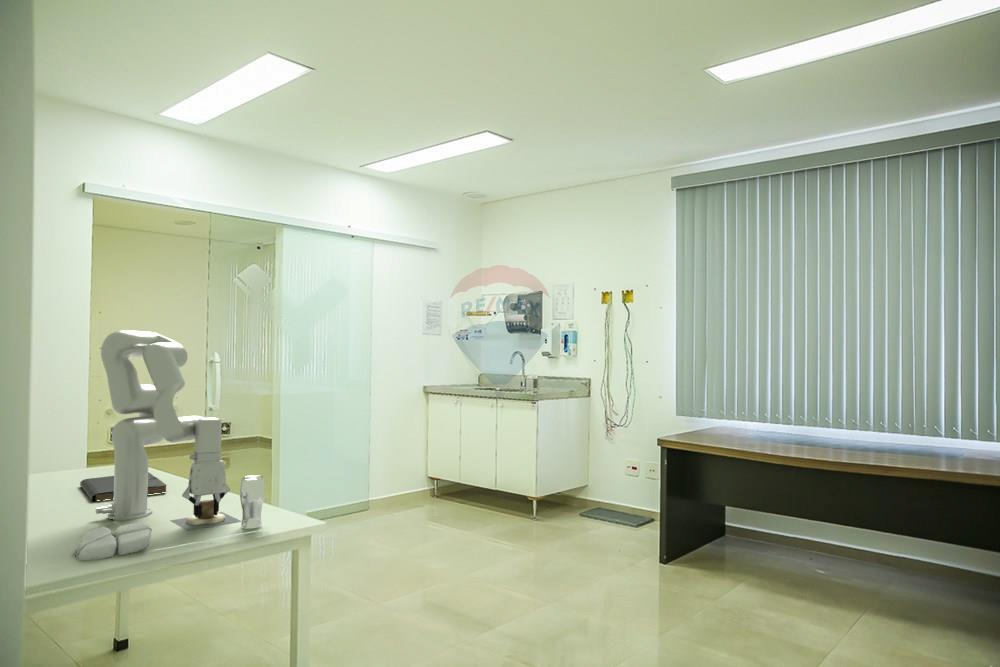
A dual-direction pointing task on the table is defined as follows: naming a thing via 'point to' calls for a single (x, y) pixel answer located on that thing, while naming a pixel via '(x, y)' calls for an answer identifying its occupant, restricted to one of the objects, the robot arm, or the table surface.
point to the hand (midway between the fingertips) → (206, 515)
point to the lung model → (113, 541)
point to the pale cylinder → (251, 501)
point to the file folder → (105, 487)
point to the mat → (188, 527)
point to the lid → (206, 515)
